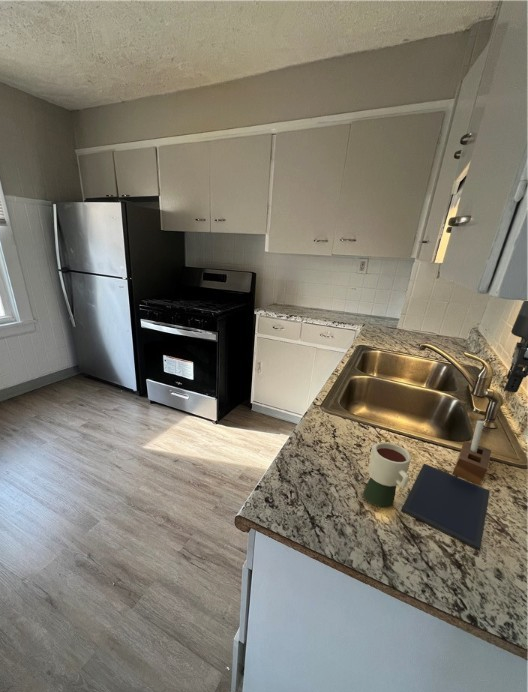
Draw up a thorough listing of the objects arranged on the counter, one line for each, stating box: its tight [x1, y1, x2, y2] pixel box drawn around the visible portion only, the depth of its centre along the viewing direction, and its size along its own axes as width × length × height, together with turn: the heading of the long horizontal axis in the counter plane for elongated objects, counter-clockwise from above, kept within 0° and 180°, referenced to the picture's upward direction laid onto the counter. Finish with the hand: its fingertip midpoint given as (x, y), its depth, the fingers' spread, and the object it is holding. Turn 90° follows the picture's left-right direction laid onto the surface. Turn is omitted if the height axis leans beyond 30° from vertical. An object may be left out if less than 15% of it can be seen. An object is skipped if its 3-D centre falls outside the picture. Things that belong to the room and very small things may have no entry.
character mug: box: [363, 441, 412, 508], centre depth 67 cm, size 11×7×13 cm, turn 14°
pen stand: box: [451, 440, 492, 486], centre depth 79 cm, size 10×6×5 cm, turn 140°
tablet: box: [400, 463, 491, 551], centre depth 70 cm, size 20×14×1 cm
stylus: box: [470, 419, 485, 453], centre depth 79 cm, size 1×1×13 cm
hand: (510, 385), depth 72 cm, fingers open, 8 cm apart
